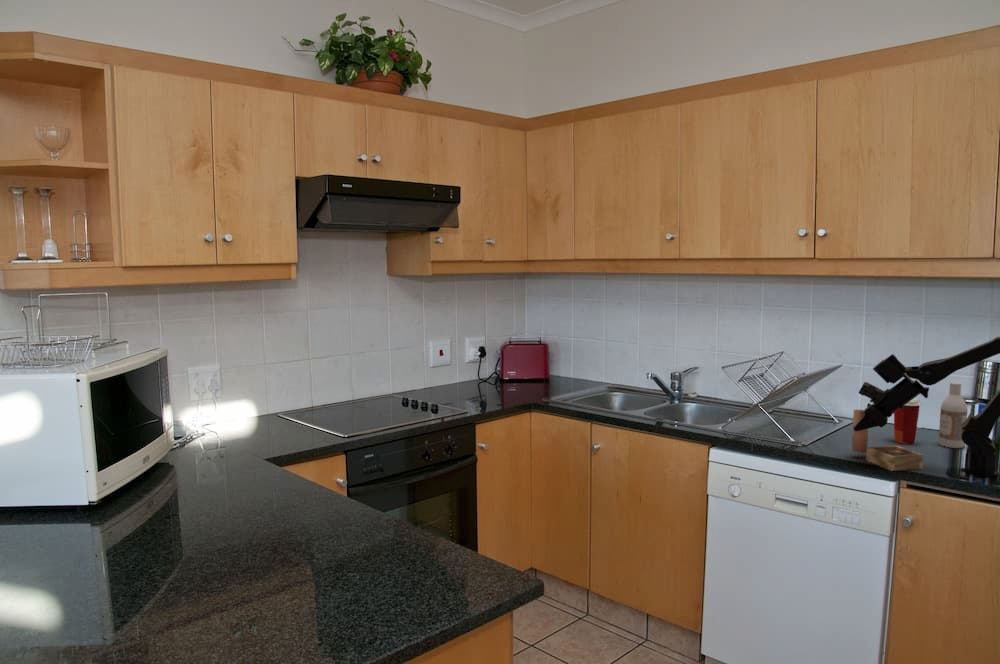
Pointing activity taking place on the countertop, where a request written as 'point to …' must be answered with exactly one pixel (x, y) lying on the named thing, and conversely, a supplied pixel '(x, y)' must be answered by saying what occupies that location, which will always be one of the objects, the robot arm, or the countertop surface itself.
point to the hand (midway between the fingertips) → (855, 428)
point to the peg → (859, 433)
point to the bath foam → (952, 418)
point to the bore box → (894, 458)
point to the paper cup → (906, 422)
